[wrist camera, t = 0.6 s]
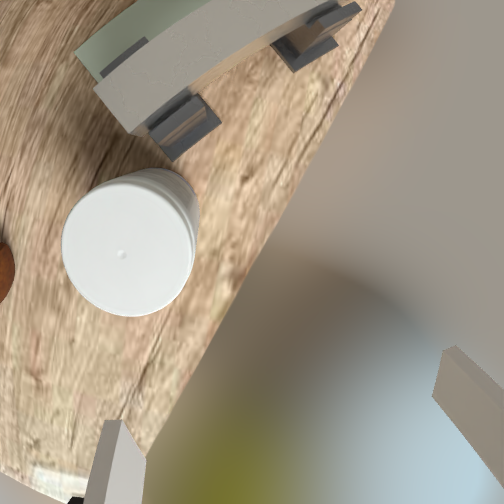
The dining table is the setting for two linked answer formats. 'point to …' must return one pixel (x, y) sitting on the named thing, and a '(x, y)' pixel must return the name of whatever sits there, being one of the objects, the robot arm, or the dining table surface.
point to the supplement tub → (132, 241)
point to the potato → (6, 270)
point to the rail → (198, 55)
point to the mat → (132, 30)
